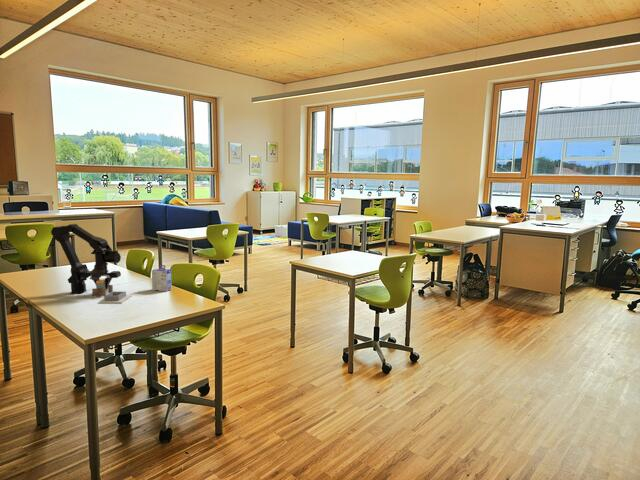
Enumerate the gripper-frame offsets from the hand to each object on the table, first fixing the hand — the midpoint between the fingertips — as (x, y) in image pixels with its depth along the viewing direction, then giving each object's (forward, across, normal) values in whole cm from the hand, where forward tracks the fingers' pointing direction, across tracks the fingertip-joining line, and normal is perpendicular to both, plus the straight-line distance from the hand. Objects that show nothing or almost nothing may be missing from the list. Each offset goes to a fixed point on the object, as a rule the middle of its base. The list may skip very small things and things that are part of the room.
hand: (102, 289), depth 247 cm
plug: (+2, 0, 0) cm, 2 cm away
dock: (+2, +12, -12) cm, 17 cm away
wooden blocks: (+2, 0, 0) cm, 2 cm away
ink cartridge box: (+3, +30, +9) cm, 31 cm away
